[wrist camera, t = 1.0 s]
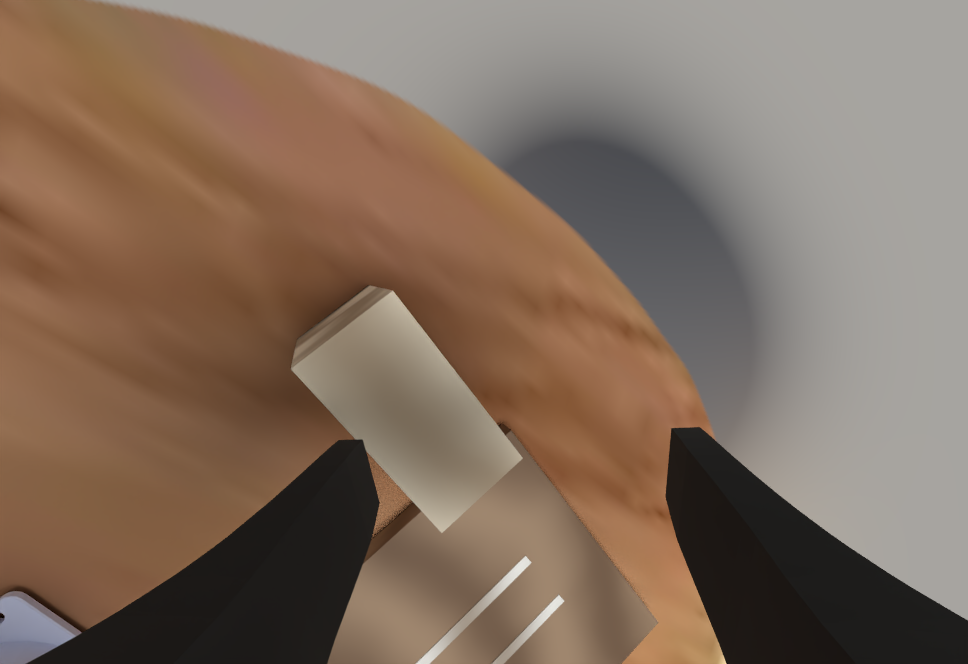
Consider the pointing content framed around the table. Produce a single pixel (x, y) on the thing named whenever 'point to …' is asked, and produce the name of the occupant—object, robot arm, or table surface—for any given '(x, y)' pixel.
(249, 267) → the table surface
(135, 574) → the table surface
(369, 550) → the walnut board
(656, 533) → the table surface
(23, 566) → the table surface
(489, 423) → the block
